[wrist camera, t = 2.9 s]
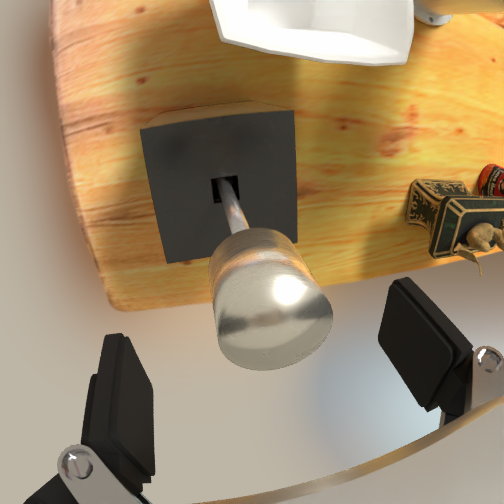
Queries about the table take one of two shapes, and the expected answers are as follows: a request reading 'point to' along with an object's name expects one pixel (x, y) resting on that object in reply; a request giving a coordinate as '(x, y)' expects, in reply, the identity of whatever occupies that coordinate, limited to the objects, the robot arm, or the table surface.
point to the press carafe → (220, 173)
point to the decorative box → (456, 218)
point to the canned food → (492, 181)
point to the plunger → (263, 293)
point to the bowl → (320, 29)
